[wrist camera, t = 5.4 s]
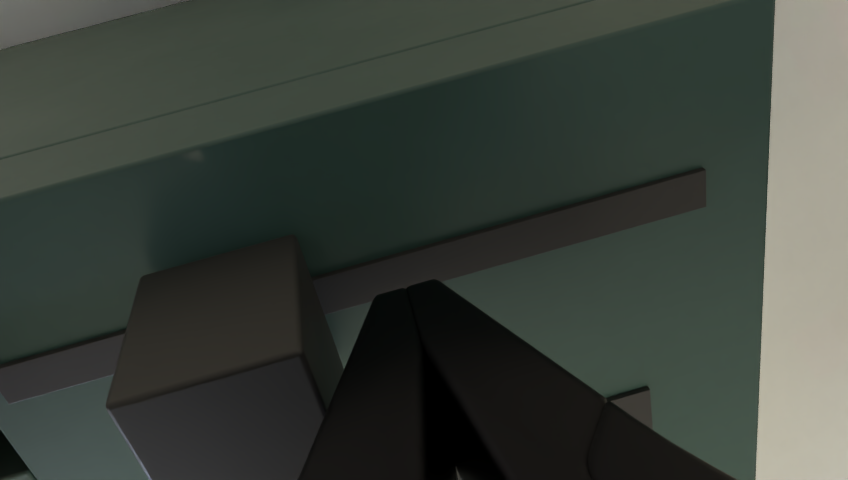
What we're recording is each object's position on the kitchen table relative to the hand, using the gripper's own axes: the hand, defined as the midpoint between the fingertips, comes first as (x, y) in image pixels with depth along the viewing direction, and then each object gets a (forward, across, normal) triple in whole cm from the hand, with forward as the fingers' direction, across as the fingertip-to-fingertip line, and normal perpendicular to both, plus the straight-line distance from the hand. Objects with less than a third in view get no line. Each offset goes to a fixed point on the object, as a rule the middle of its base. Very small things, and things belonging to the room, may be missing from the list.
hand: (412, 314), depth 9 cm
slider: (+1, +2, 0) cm, 2 cm away
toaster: (+10, +4, +3) cm, 11 cm away
